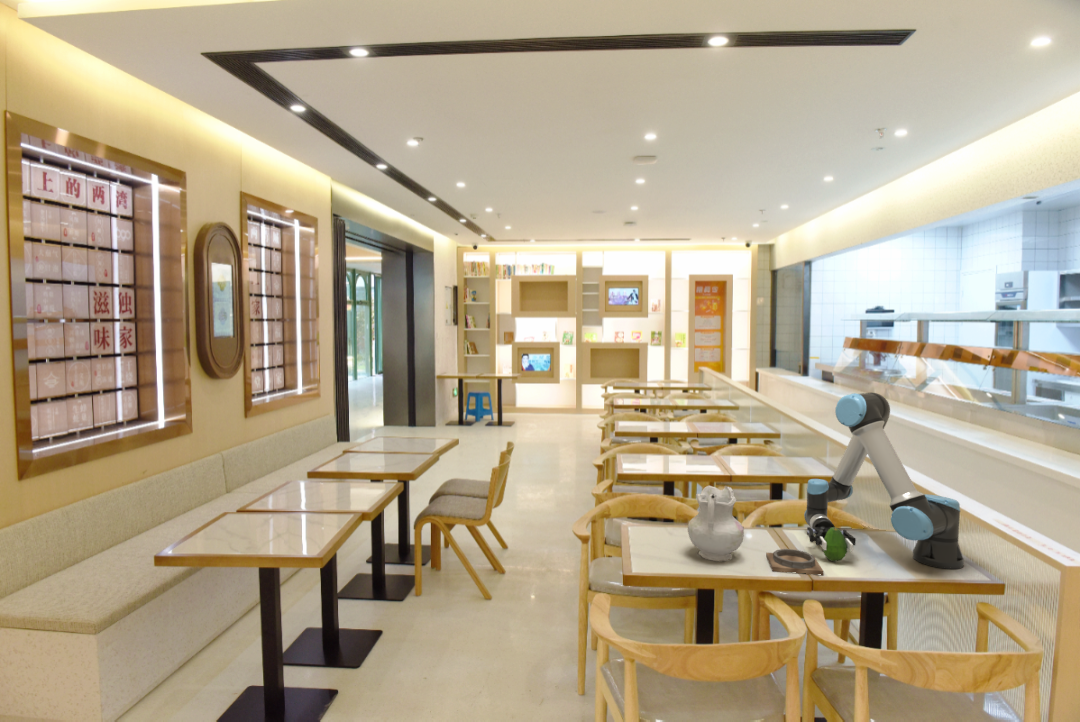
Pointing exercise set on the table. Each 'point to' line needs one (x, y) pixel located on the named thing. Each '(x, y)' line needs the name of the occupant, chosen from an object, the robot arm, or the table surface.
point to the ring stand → (793, 562)
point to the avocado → (835, 545)
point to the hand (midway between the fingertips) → (838, 547)
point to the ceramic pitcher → (716, 525)
